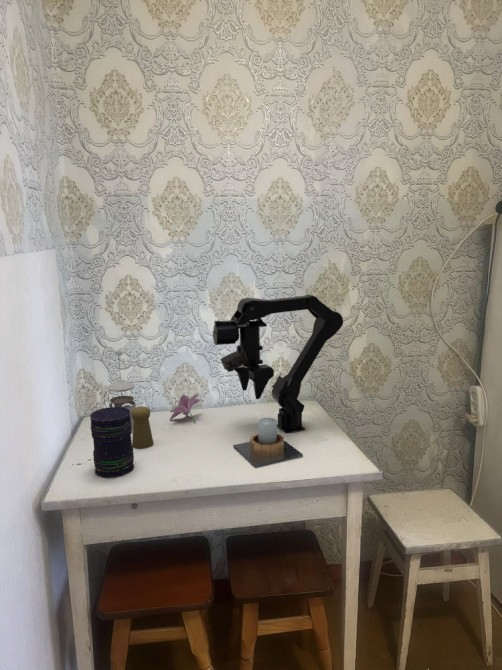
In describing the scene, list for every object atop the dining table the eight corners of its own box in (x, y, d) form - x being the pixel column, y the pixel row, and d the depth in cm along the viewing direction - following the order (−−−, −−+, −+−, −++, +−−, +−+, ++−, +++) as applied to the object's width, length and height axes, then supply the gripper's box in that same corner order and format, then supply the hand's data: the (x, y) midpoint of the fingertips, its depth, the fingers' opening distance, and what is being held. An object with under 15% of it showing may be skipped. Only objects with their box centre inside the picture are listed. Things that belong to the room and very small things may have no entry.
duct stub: (255, 447, 138) (255, 419, 136) (271, 443, 140) (271, 416, 138) (262, 454, 133) (262, 426, 131) (279, 451, 135) (279, 423, 133)
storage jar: (141, 462, 132) (137, 408, 129) (123, 479, 123) (119, 421, 120) (106, 459, 134) (102, 405, 131) (86, 476, 125) (81, 419, 122)
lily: (207, 416, 167) (195, 390, 168) (213, 414, 156) (200, 386, 157) (174, 433, 164) (162, 406, 165) (178, 432, 152) (164, 403, 153)
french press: (124, 437, 148) (118, 355, 143) (96, 431, 154) (89, 351, 149) (147, 426, 157) (141, 348, 152) (119, 420, 162) (113, 344, 158)
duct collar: (277, 438, 146) (277, 425, 145) (302, 456, 133) (302, 443, 132) (233, 447, 140) (232, 434, 139) (254, 468, 127) (254, 453, 127)
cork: (143, 438, 147) (141, 402, 145) (158, 443, 144) (155, 406, 142) (127, 445, 143) (124, 408, 140) (142, 450, 139) (139, 412, 137)
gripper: (212, 339, 149) (213, 390, 152) (237, 352, 133) (238, 408, 136) (246, 335, 154) (247, 384, 157) (274, 347, 137) (275, 402, 140)
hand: (250, 394), depth 147 cm, fingers open, 9 cm apart
